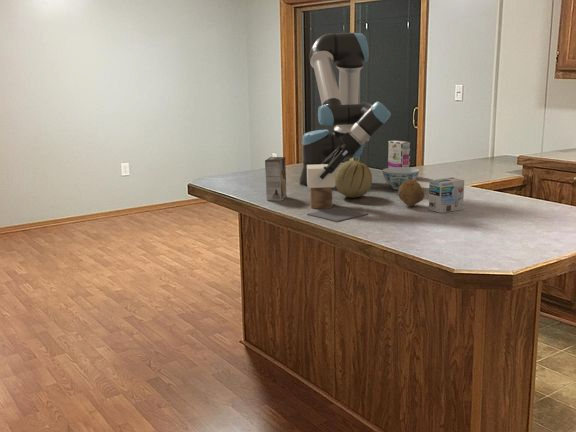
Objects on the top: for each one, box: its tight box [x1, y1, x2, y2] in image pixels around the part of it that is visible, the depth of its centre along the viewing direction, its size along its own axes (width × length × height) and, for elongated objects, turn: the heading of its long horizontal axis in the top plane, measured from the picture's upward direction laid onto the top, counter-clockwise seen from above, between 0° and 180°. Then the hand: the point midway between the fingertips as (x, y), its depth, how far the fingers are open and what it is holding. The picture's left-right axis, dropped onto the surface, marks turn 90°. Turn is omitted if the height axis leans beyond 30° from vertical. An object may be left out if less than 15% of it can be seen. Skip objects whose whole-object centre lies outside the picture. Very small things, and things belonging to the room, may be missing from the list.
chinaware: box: [382, 167, 420, 190], centre depth 257 cm, size 15×15×8 cm
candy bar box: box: [387, 140, 411, 168], centre depth 284 cm, size 11×5×16 cm, turn 25°
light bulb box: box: [428, 177, 465, 214], centre depth 216 cm, size 11×7×11 cm, turn 117°
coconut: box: [397, 179, 425, 207], centre depth 224 cm, size 9×9×10 cm
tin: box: [309, 187, 333, 209], centre depth 228 cm, size 8×8×14 cm
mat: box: [306, 206, 369, 223], centre depth 214 cm, size 15×15×1 cm
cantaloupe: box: [335, 158, 373, 199], centre depth 241 cm, size 15×15×15 cm
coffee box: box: [264, 156, 287, 202], centre depth 243 cm, size 9×6×16 cm
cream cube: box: [306, 164, 336, 189], centre depth 227 cm, size 10×10×7 cm
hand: (313, 181), depth 227 cm, fingers open, 11 cm apart
